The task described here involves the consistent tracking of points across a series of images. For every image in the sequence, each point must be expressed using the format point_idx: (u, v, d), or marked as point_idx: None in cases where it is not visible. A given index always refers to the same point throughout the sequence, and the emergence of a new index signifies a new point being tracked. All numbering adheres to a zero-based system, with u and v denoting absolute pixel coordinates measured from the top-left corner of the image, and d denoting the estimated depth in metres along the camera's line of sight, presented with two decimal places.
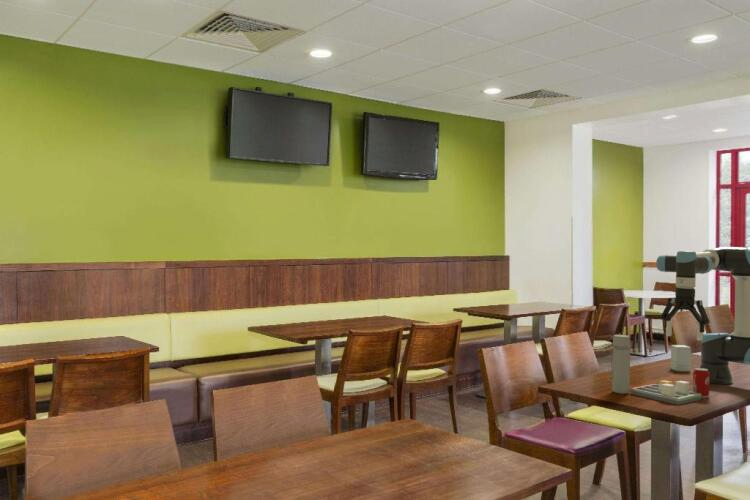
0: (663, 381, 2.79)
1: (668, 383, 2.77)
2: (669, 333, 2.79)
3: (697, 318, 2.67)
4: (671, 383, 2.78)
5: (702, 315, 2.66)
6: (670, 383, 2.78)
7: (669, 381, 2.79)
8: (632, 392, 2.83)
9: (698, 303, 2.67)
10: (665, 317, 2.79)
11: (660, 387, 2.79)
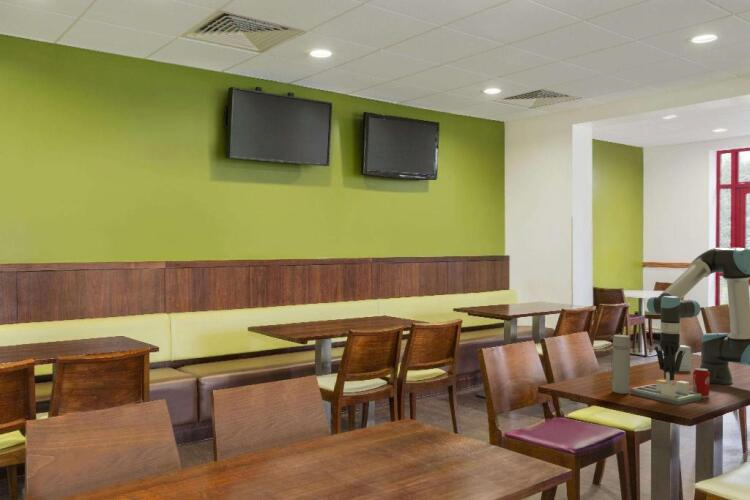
0: (660, 380, 2.80)
1: (665, 382, 2.78)
2: None
3: (670, 366, 2.76)
4: None
5: (676, 364, 2.74)
6: None
7: None
8: (632, 392, 2.83)
9: (680, 353, 2.73)
10: (663, 369, 2.79)
11: (657, 386, 2.81)
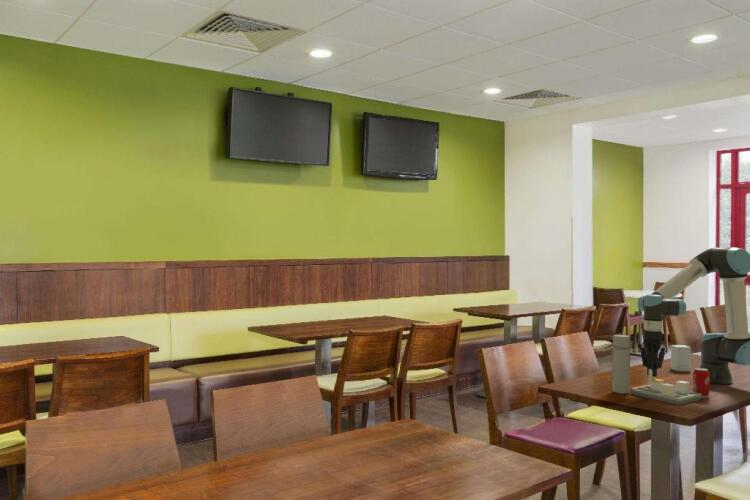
0: (655, 379, 2.83)
1: (660, 381, 2.80)
2: None
3: (653, 362, 2.83)
4: (663, 381, 2.82)
5: (658, 361, 2.81)
6: (662, 381, 2.81)
7: None
8: (632, 392, 2.83)
9: (662, 350, 2.80)
10: (646, 365, 2.86)
11: (652, 385, 2.83)
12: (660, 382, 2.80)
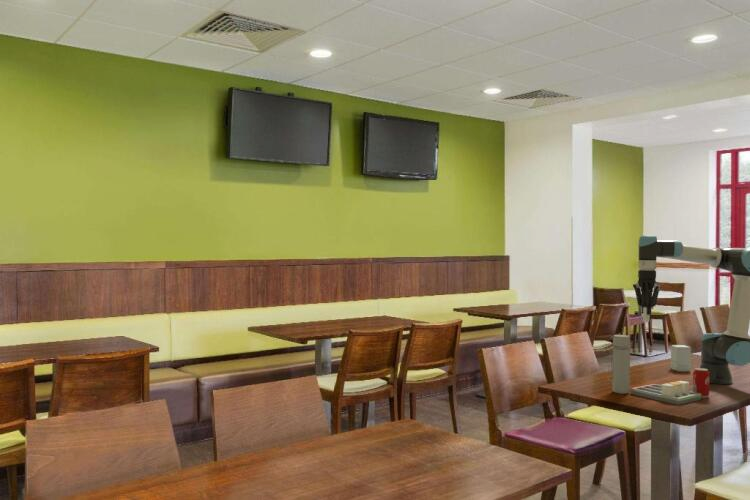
0: (672, 383, 2.76)
1: (678, 385, 2.74)
2: None
3: (647, 301, 2.92)
4: (681, 385, 2.75)
5: (652, 299, 2.90)
6: (680, 385, 2.74)
7: (678, 383, 2.76)
8: (632, 392, 2.83)
9: (656, 288, 2.89)
10: (641, 304, 2.95)
11: None
12: (678, 386, 2.74)
